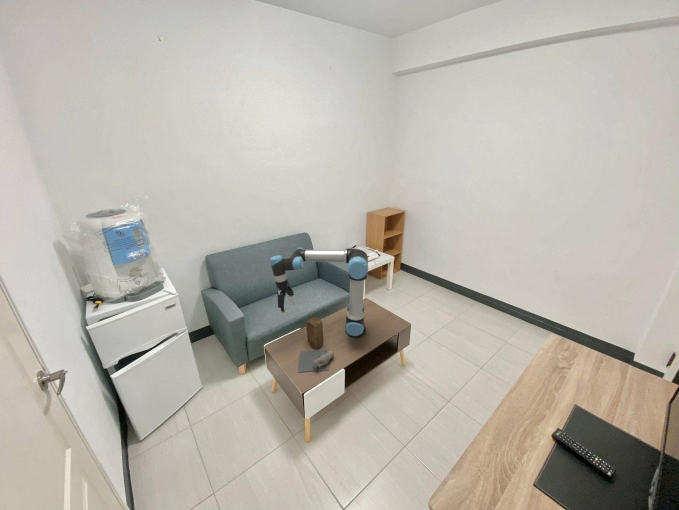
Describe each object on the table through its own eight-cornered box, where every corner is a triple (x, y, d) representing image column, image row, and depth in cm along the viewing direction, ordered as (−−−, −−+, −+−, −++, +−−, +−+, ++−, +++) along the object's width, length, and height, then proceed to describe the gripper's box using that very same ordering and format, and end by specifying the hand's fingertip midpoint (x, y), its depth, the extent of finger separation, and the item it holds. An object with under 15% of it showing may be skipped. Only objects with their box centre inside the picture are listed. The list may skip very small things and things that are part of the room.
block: (324, 345, 183) (323, 320, 175) (316, 351, 178) (314, 326, 170) (314, 337, 190) (312, 313, 182) (305, 343, 185) (303, 319, 177)
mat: (327, 350, 178) (327, 349, 178) (328, 370, 163) (328, 369, 163) (299, 352, 177) (299, 351, 177) (298, 372, 162) (298, 372, 161)
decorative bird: (336, 358, 170) (336, 349, 168) (317, 373, 160) (316, 364, 157) (330, 354, 174) (330, 345, 171) (311, 369, 163) (310, 359, 160)
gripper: (283, 272, 181) (290, 300, 188) (267, 289, 158) (275, 321, 165) (293, 271, 180) (300, 300, 186) (278, 288, 157) (287, 320, 163)
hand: (288, 310), depth 176 cm, fingers open, 13 cm apart
